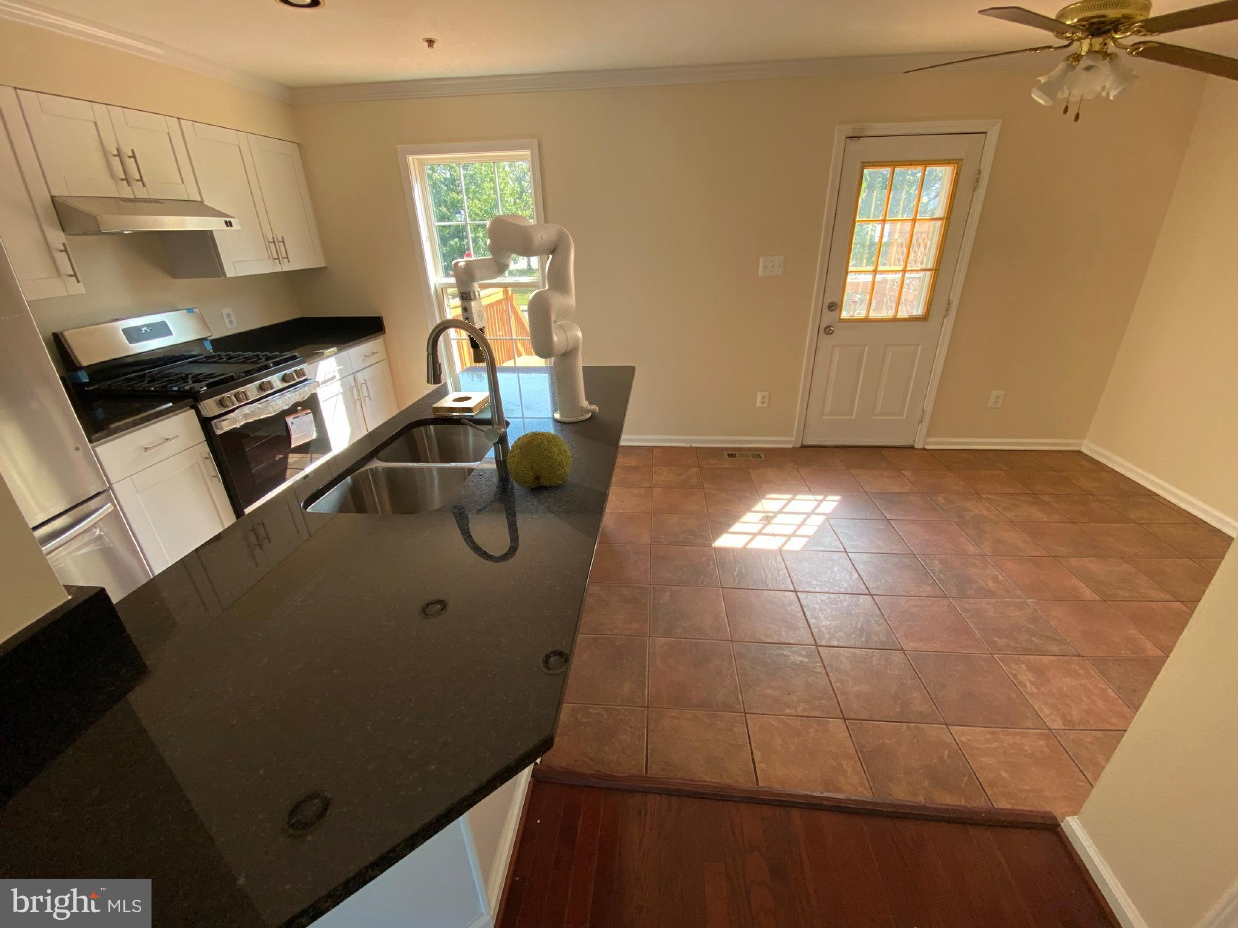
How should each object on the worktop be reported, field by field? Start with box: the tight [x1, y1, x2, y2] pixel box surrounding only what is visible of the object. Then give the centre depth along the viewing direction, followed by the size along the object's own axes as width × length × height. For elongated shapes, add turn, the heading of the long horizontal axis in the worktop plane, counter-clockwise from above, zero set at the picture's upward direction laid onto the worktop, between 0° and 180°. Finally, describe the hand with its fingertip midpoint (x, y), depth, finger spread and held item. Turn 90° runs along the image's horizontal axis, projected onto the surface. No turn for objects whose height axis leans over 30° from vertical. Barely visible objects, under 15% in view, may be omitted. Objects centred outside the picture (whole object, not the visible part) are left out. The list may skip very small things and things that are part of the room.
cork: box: [472, 333, 486, 364], centre depth 188 cm, size 6×6×11 cm
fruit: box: [505, 430, 573, 489], centre depth 125 cm, size 16×14×15 cm
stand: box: [431, 391, 491, 418], centre depth 184 cm, size 16×16×4 cm
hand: (478, 346), depth 188 cm, fingers closed on cork, 5 cm apart
